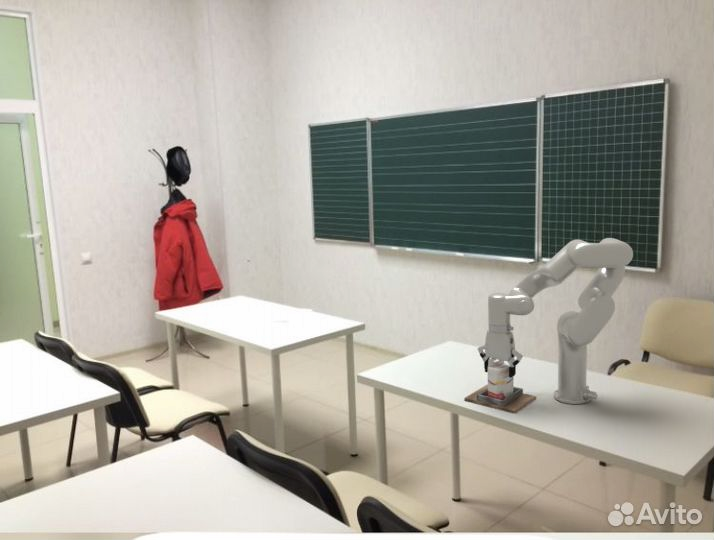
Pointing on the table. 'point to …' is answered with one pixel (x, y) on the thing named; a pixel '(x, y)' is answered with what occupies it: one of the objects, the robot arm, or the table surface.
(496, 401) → the dock
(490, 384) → the ink cartridge box
